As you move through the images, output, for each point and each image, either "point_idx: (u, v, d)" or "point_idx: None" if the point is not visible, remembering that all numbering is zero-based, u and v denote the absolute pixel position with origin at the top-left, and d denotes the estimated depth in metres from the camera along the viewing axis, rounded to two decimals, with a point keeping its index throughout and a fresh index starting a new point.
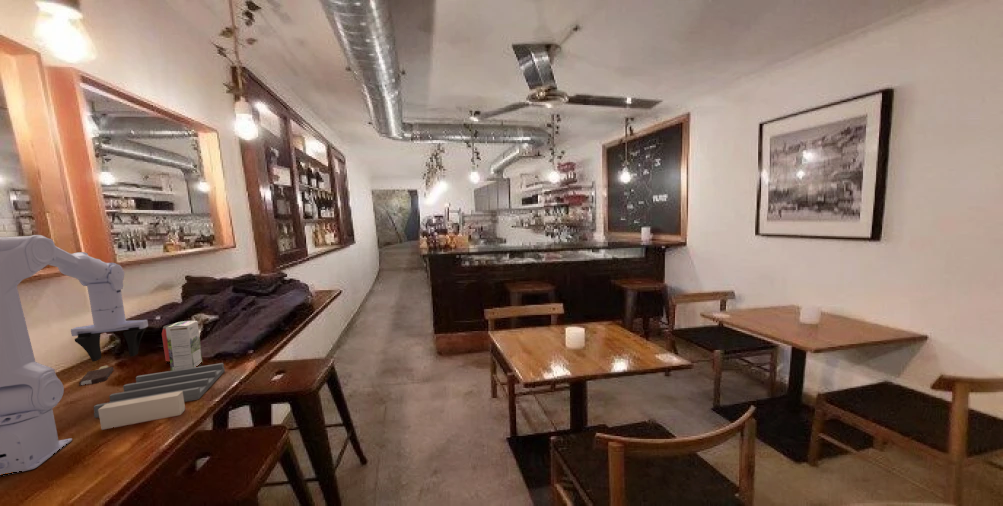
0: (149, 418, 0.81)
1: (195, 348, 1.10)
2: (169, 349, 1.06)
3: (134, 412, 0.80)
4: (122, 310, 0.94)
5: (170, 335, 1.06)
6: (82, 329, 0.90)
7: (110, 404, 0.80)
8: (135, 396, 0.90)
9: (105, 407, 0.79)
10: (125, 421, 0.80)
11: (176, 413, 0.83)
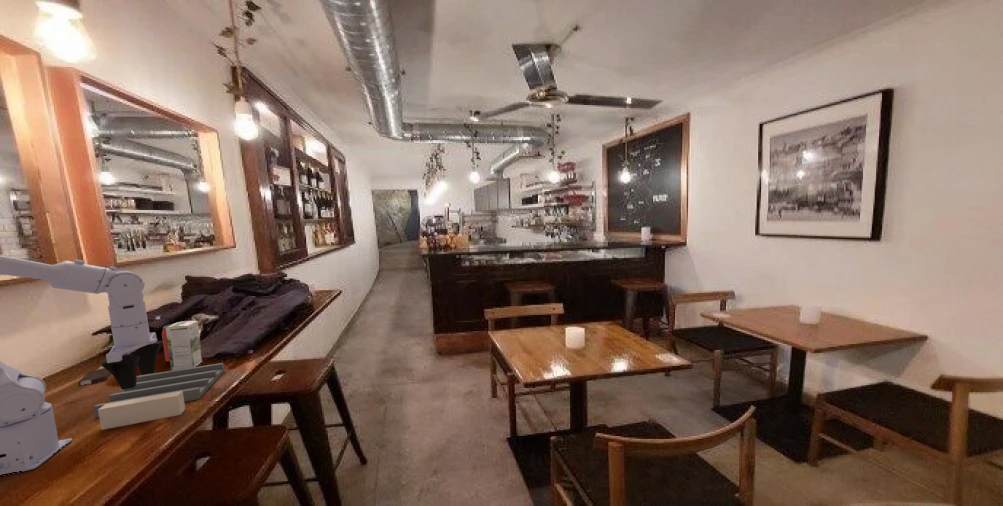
0: (149, 418, 0.81)
1: (195, 348, 1.10)
2: (169, 349, 1.06)
3: (134, 412, 0.80)
4: (123, 331, 0.77)
5: (170, 335, 1.06)
6: None
7: (110, 404, 0.80)
8: (135, 396, 0.90)
9: (105, 407, 0.79)
10: (125, 421, 0.80)
11: (176, 413, 0.83)
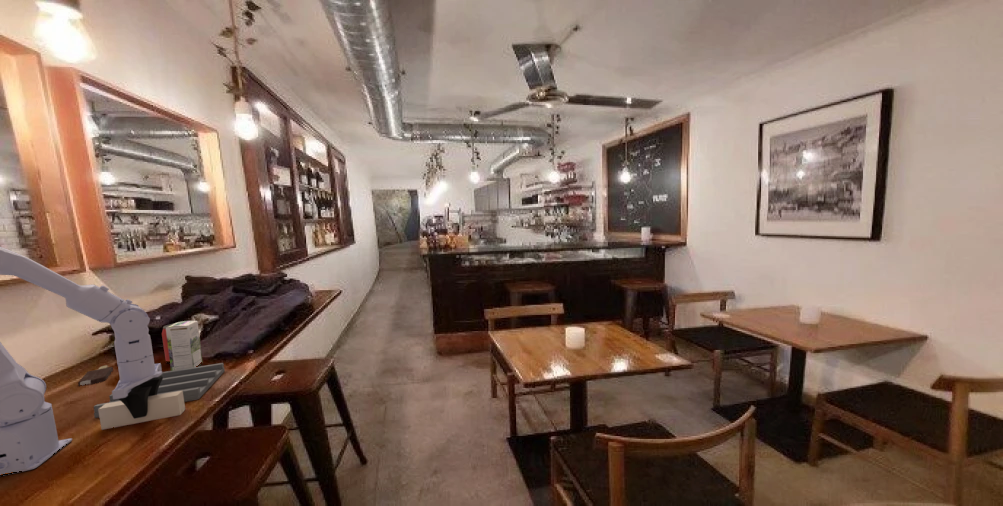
0: (149, 418, 0.81)
1: (195, 348, 1.10)
2: (169, 349, 1.06)
3: None
4: (129, 366, 0.78)
5: (170, 335, 1.06)
6: None
7: (110, 404, 0.80)
8: None
9: (105, 407, 0.79)
10: (125, 421, 0.80)
11: (176, 413, 0.83)
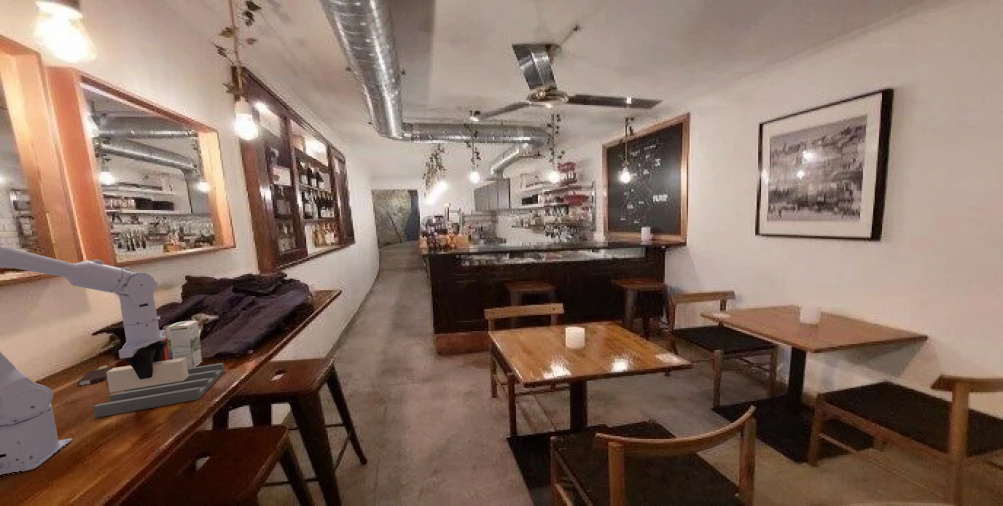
0: (154, 382, 0.85)
1: (195, 348, 1.10)
2: (169, 349, 1.06)
3: None
4: (134, 329, 0.82)
5: (170, 335, 1.06)
6: None
7: (118, 368, 0.84)
8: (135, 396, 0.90)
9: (113, 370, 0.83)
10: (132, 384, 0.84)
11: (180, 378, 0.87)
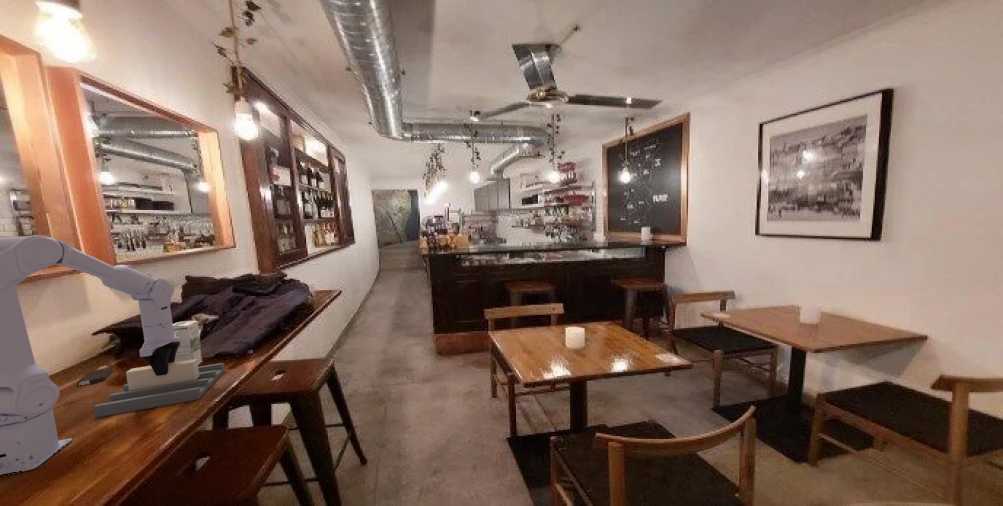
0: (169, 381, 0.94)
1: (195, 348, 1.10)
2: None
3: (156, 376, 0.93)
4: (152, 330, 0.91)
5: None
6: None
7: (136, 368, 0.93)
8: (135, 396, 0.90)
9: (131, 371, 0.92)
10: (148, 383, 0.93)
11: (192, 377, 0.96)
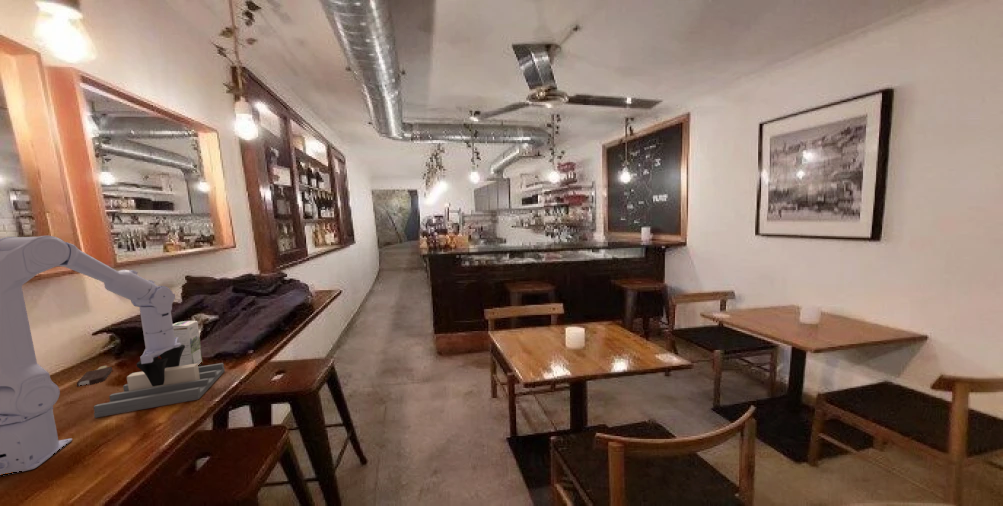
0: None
1: (195, 348, 1.10)
2: None
3: None
4: (153, 337, 0.91)
5: None
6: None
7: (136, 373, 0.93)
8: (135, 396, 0.90)
9: (132, 375, 0.92)
10: (149, 387, 0.93)
11: None
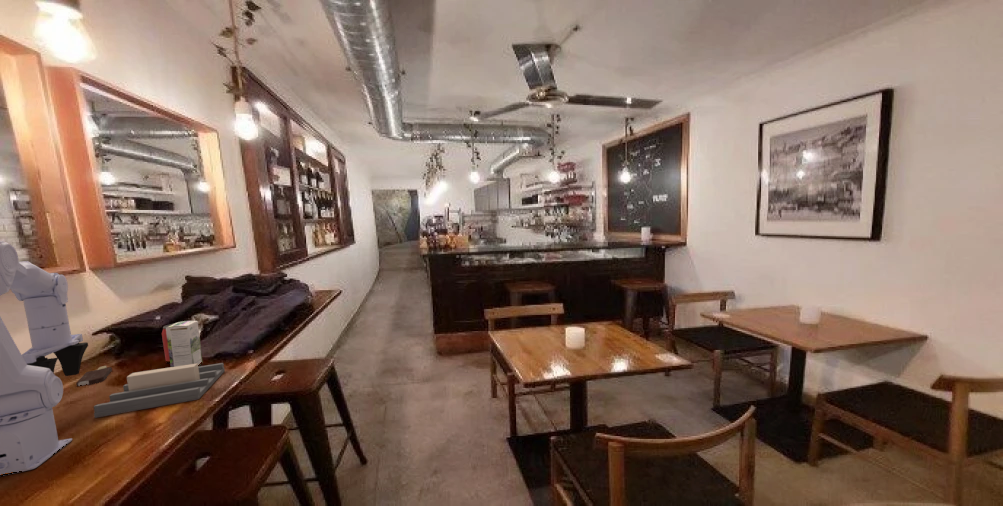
0: None
1: (195, 348, 1.10)
2: (169, 349, 1.06)
3: (156, 380, 0.93)
4: (40, 333, 0.78)
5: (170, 335, 1.06)
6: None
7: (136, 373, 0.93)
8: (135, 396, 0.90)
9: (132, 375, 0.92)
10: (149, 387, 0.93)
11: None
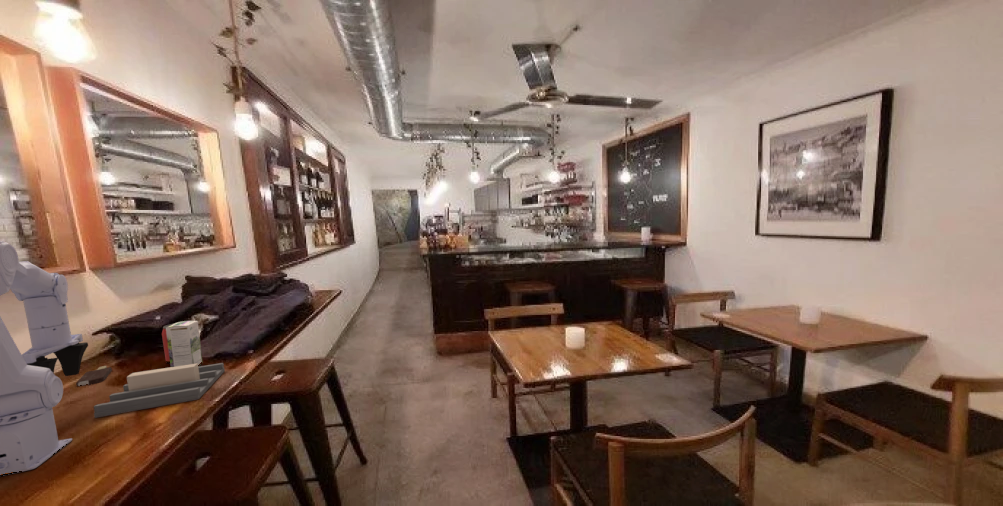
0: None
1: (195, 348, 1.10)
2: (169, 349, 1.06)
3: (156, 380, 0.93)
4: (40, 333, 0.78)
5: (170, 335, 1.06)
6: None
7: (136, 373, 0.93)
8: (135, 396, 0.90)
9: (132, 375, 0.92)
10: (149, 387, 0.93)
11: None
